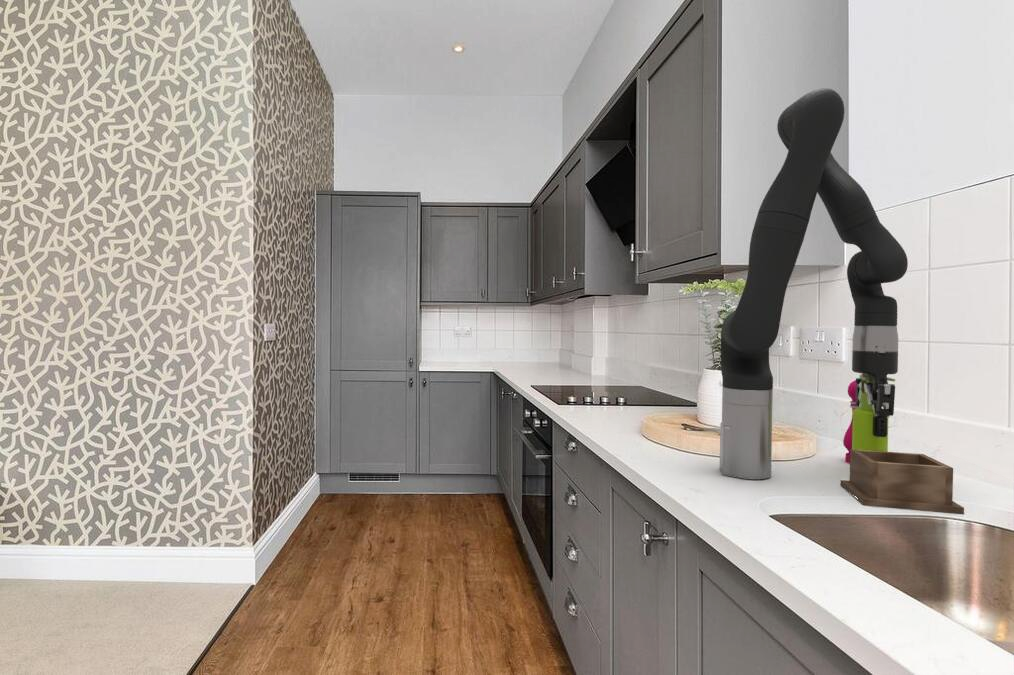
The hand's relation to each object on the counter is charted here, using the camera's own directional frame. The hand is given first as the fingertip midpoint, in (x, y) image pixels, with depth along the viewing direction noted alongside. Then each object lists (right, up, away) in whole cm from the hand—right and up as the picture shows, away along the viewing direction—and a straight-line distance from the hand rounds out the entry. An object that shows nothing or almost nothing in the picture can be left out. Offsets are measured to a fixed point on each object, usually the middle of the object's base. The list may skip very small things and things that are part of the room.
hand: (873, 433), depth 108 cm
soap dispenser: (0, -9, 0) cm, 9 cm away
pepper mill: (+5, -9, +11) cm, 15 cm away
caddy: (-5, -9, -14) cm, 17 cm away
